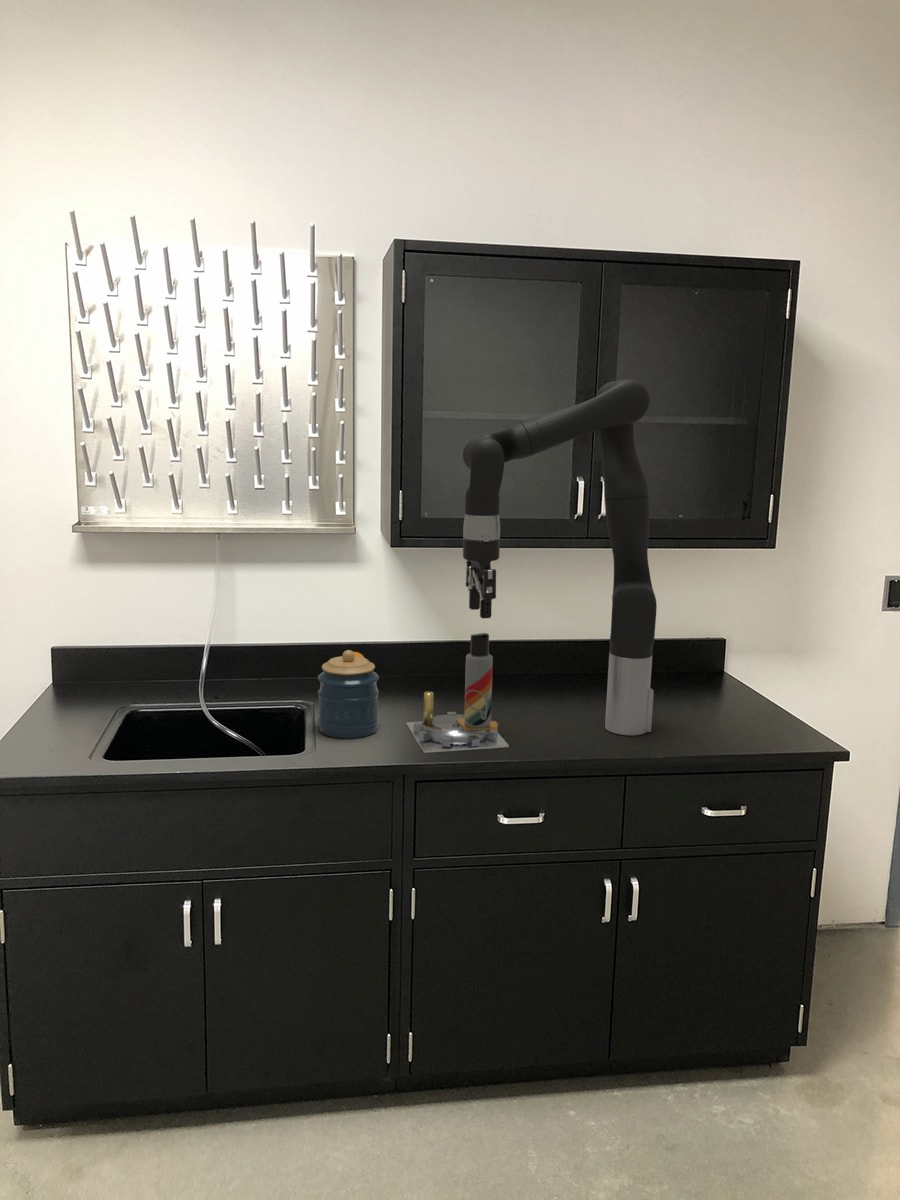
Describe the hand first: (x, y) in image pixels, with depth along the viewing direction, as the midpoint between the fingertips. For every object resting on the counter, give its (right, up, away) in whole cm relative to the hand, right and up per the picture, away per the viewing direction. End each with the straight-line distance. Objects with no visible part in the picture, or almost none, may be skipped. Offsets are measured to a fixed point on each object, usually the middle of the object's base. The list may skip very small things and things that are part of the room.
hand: (479, 613), depth 196 cm
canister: (-28, -25, +8) cm, 39 cm away
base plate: (-5, -26, +5) cm, 27 cm away
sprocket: (-5, -26, +5) cm, 27 cm away
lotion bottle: (0, -24, +5) cm, 24 cm away
